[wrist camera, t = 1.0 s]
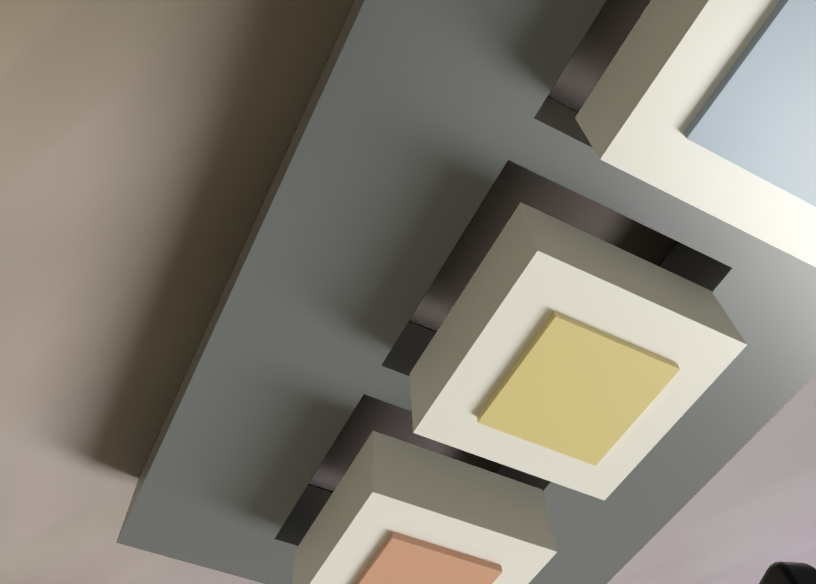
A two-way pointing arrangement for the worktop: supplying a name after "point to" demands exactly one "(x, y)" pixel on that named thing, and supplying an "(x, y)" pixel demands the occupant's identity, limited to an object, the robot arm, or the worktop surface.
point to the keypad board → (410, 280)
